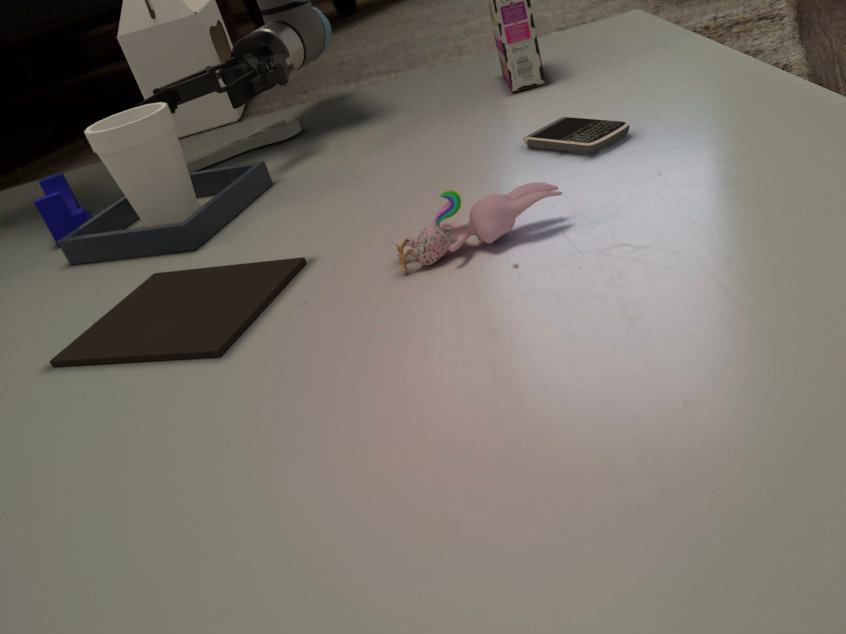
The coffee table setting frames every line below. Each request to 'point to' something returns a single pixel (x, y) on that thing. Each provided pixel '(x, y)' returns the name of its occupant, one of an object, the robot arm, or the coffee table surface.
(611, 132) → the cell phone
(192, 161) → the adjustable wrench
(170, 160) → the foam cup
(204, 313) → the mat
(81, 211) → the cable clip
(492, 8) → the candy bar box
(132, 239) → the tray
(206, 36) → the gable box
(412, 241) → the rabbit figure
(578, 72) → the coffee table surface
